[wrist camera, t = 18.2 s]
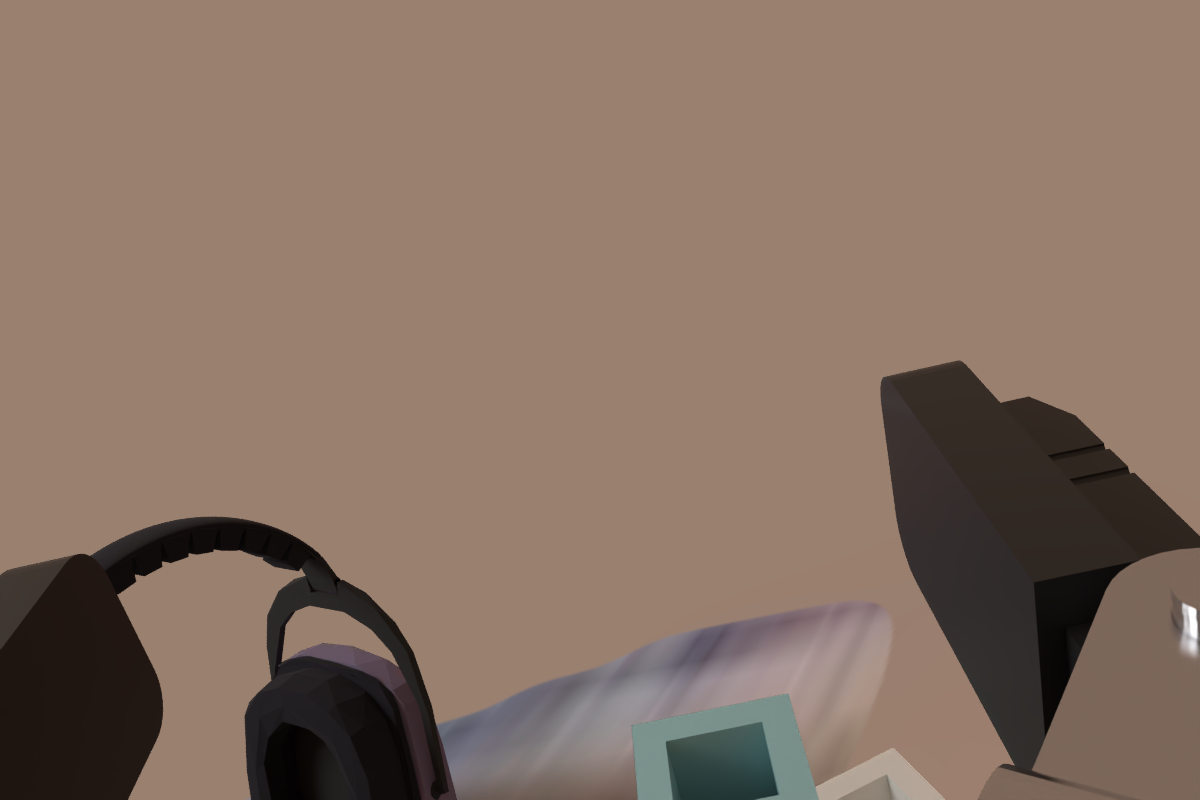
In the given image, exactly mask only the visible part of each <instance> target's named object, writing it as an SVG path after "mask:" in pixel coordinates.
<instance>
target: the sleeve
mask: <svg viewBox="0 0 1200 800" xmlns="http://www.w3.org/2000/svg"><path fill="white" fill-rule="evenodd" d="M632 735H633V747H634V759H635V771H636V782H637V794H638V800H819V798H818V795H817V791H816V788H815V785H814V781H813V778H812V774H811V771H810V767H809V764H808V760H807V757H806V753H805V750H804V747H803V743H802V740H801V736H800V733H799V729H798V726H797V722H796V719H795V715H794V712H793V709H792V705H791V702H790V698H789V695H788V694H783V695H778V696H774V697H769V698H764V699H759V700H754V701H749V702H744V703H740V704H735V705H730V706H725V707H720V708H715V709H710V710H705V711H701V712H696V713H691V714H686V715H681V716H676V717H671V718H667V719H662V720H657V721H652V722H647V723H642V724H637V725H633V726H632Z"/></svg>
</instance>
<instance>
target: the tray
mask: <svg viewBox="0 0 1200 800" xmlns="http://www.w3.org/2000/svg"><path fill="white" fill-rule="evenodd" d="M815 788H816V791H817V795H818V798H819V800H946V799H945V798H943V797H942V796H941V795H940V794H939V793H938V792H937V791H936V790H935V789H934V788H933V787H932V786H931V785H930V784H929V783H928V782H927V781H926V780H925V779H924V778H923V777H922V776H921V775H920V774H919V773H918V772H917V771H916V770H915V769H914V768H913V767H912V766H911V765H910V764H909V763H908V762H907V761H906V760H905V759H904V758H903V757H902V756H901V755H900V754H899V753H898V752H897V751H896V750H895V749H894V748H892V749H889V750H887V751H885V752H883V753H882V754H879V755H877V756H875V757H874V758H872V759H870V760H868V761H866V762H864V763H862V764H860V765H858V766H856V767H854V768H852V769H850V770H848V771H846V772H844V773H842V774H840V775H838V776H836V777H834V778H832V779H830V780H828V781H826V782H824V783H822V784H820V785H818V786H816V787H815Z"/></svg>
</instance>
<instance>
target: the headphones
mask: <svg viewBox="0 0 1200 800" xmlns="http://www.w3.org/2000/svg"><path fill="white" fill-rule="evenodd" d="M214 549H215V550H221V551H237V550H241V551H243V552H246V553H248V554H251V555H255V556H258V557H263V560H264V561H265V562H267V563H269V564H271V565H272V566H274V567H278V568H283V569H289V570H295V571H299V570H300V569H301V568H302V570H303V572H304V573H305V575H306V576H304V577H300V578H297V579H294V580H293V581H291V582H290V583H289V584H287V585H286V586H285V587H283V588H282V589H281V590H280V591H279V592H278V594H277V596H276V598H275V600H274V602H273V604H272V607H271V609H270V611H269V613H268V616H267V651H268V658H269V665H270V673H271V680H272V681H271V682H269V683H268V684H267V685H266V686H265V687H264V688H263V689H262V690H261V691H260V692H258V693H257V695H256V696H255V697H254V698H253V699H252V700H251V701H250V702H249V705H248V708H247V711H246V714H245V734H246V735H245V736H246V759H247V774H248V781H249V788H250V794H251V800H457V798H456V794H455V790H454V786H453V782H452V778H451V775H450V771H449V767H448V763H447V759H446V755H445V751H444V748H443V744H442V741H441V738H440V735H439V732H438V729H437V726H436V723H435V719H434V714H433V709H432V705H431V702H430V699H429V696H428V693H427V691H426V688H425V685H424V682H423V679H422V676H421V673H420V670H419V667H418V664H417V662H416V658H415V656H414V653H413V651H412V649H411V647H410V646H409V644H408V643H407V641H406V639H405V638H404V636H403V634H402V633H401V631H400V630H399V628H398V626H397V625H396V623H395V622H394V621H393V620H392V619H391V618H390V617H389V616H388V615H387V614H386V613H385V612H384V611H383V610H382V609H381V608H380V607H379V606H378V605H377V604H376V603H375V602H374V601H373V600H372V598H371V597H370V596H369V595H367V593H365V592H364V591H362V590H360V589H358V588H356V587H355V586H353V585H351V584H349V583H348V582H346V581H344V580H340V578H338V577H337V576H336V574H335V573H334V572H333V570H332V569H331V568H330V567H329V565H328V564H327V562H326V561H325V560H324V558H323V557H321V555H320V554H319V553H318V552H316V551H315V550H314V549H313V548H312V547H310V546H309V545H307V544H306V543H304V542H303V541H301V540H300V539H298V538H296V537H294V536H293V535H291V534H288V533H287V532H284V531H282V530H279V529H277V528H274V527H272V526H269V525H265V524H262V523H258V522H254V521H250V520H244V519H238V518H229V517H195V518H186V519H180V520H174V521H170V522H165V523H161V524H158V525H154V526H151V527H148V528H145V529H142V530H140V531H137V532H134V533H132V534H130V535H127V536H125V537H123V538H121V539H119V540H117V541H115V542H113V543H111V544H109V545H107V546H106V547H104V548H102V549H101V550H99V551H97V552H96V553H94V554H93V555H91V557H92V558H94V559H95V560H96V561H97V562H98V563H99V564H100V565H101V566H102V568H103V569H104V570H105V572H106V574H107V576H108V578H109V580H110V582H111V584H112V586H113V588H114V590H115V592H116V594H119V593H121V592H122V591H124V590H125V589H127V588H128V587H129V586H131V585H132V584H134V583H135V582H136V579H135V574H136V575H141V576H146V575H148V574H150V573H152V572H153V571H155V570H157V569H159V568H161V567H162V561H163V562H169V563H172V562H175V561H178V560H181V559H184V558H186V557H188V554H189V553H191V554H203V553H209V552H213V550H214ZM307 606H315V607H320V608H325V609H331V610H336V611H342V612H345V613H346V614H348V615H350V616H351V617H353V618H354V619H356V620H357V621H359V622H360V623H362V624H364V625H365V626H367V627H368V628H370V629H371V630H372V631H373V632H374V633H375V634H376V635H377V636H378V638H379V639H380V640H381V641H382V642H383V643H384V644H385V646H386V647H387V648H388V649H389V650H390V651H391V652H392V654H393V656H394V658H395V660H396V662H397V664H398V666H399V667H397V666H396V665H394V664H393V663H392V662H390V661H388V660H387V659H384V658H382V657H379V656H377V655H374V654H371V653H369V652H366V651H364V650H361V649H359V648H356V647H353V646H345V645H335V644H327V643H322V644H319V645H316V646H313V647H310V648H307V649H305V650H302V651H300V652H298V653H297V654H295V655H294V656H292V657H291V658H289V659H288V660H286V661H284V662H281V661H282V653H283V644H284V635H285V626H286V624H287V622H288V621H289V620H290V618H291V617H292V615H293V614H294V612H295V611H296V610H299V609H302V608H304V607H307Z"/></svg>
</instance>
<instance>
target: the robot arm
mask: <svg viewBox="0 0 1200 800" xmlns="http://www.w3.org/2000/svg"><path fill="white" fill-rule="evenodd" d="M881 405H882V412H883V420H884V428H885V435H886V443H887V450H888V458H889V465H890V473H891V481H892V488H893V495H894V503H895V511H896V518H897V523H898V528H899V533H900V537H901V541H902V545H903V549H904V552H905V555H906V558H907V561H908V564H909V567H910V569H911V572H912V574H913V576H914V578H915V580H916V582H917V584H918V586H919V588H920V590H921V592H922V594H923V595H924V597H925V599H926V601H927V603H928V604H929V607H930V608H931V610H932V612H933V614H934V616H935V618H936V620H937V621H938V623H939V625H940V627H941V629H942V631H943V633H944V634H945V636H946V638H947V640H948V642H949V644H950V645H951V647H952V649H953V651H954V653H955V655H956V657H957V659H958V660H959V662H960V664H961V666H962V668H963V670H964V672H965V673H966V675H967V677H968V679H969V681H970V683H971V684H972V686H973V688H974V690H975V692H976V694H977V696H978V698H979V700H980V701H981V703H982V705H983V707H984V709H985V711H986V713H987V714H988V716H989V718H990V720H991V722H992V724H993V726H994V727H995V729H996V731H997V733H998V735H999V737H1000V739H1001V740H1002V742H1003V744H1004V746H1005V748H1006V750H1007V752H1008V753H1009V755H1010V757H1011V759H1012V761H1013V763H1014V764H1015V766H1014V765H1010V764H1002V765H1001V766H999V767H998V768H997V769H996V770H995V771H994V772H993V773H992V774H991V776H990V777H989V779H988V780H987V782H986V784H985V786H984V788H983V790H982V792H981V794H980V796H979V798H978V800H1200V536H1199V535H1198V534H1197V533H1196V532H1195V531H1194V530H1193V529H1192V528H1191V527H1190V526H1189V525H1188V524H1187V523H1186V522H1185V521H1184V520H1183V519H1181V518H1180V517H1179V516H1178V515H1177V514H1176V513H1175V512H1174V511H1173V510H1172V509H1171V508H1170V507H1169V506H1168V505H1167V504H1166V503H1165V502H1164V501H1163V500H1162V499H1161V498H1160V497H1159V496H1158V495H1157V494H1156V493H1155V492H1154V491H1153V490H1151V489H1150V487H1148V485H1146V484H1145V483H1144V482H1143V481H1142V480H1141V479H1140V478H1139V477H1138V476H1137V475H1136V474H1135V473H1131V474H1130V472H1129V470H1128V466H1127V465H1126V464H1125V463H1124V462H1123V461H1122V460H1121V459H1120V458H1119V457H1118V456H1116V455H1115V453H1113V452H1112V451H1111V450H1110V449H1107V450H1106V449H1105V447H1104V443H1103V442H1102V441H1101V440H1100V439H1099V438H1098V437H1097V436H1096V435H1095V434H1094V433H1093V432H1092V431H1091V430H1090V429H1089V428H1088V427H1087V426H1086V425H1084V423H1083V422H1081V420H1079V419H1078V418H1077V417H1076V416H1075V415H1073V414H1071V413H1068V412H1066V411H1063V410H1060V409H1058V408H1055V407H1053V406H1051V405H1048V404H1046V403H1043V402H1041V401H1038V400H1036V399H1033V398H1031V397H1025V398H1021V399H1016V400H1011V401H1007V402H1003V403H1000V402H999V401H998V400H997V399H996V398H995V397H994V395H993V394H992V393H991V392H990V391H989V390H988V389H987V388H986V387H985V385H984V384H983V383H982V382H981V381H980V380H979V379H978V378H977V377H976V375H975V374H974V373H973V372H972V371H971V370H970V369H969V368H968V367H967V365H966V364H964V363H963V362H962V361H954V362H950V363H945V364H941V365H936V366H932V367H928V368H923V369H918V370H914V371H909V372H905V373H900V374H896V375H891V376H887V377H883V379H882V381H881ZM162 718H163V700H162V692H161V687H160V683H159V680H158V677H157V674H156V673H155V670H154V668H153V666H152V664H151V662H150V660H149V658H148V656H147V654H146V652H145V650H144V648H143V646H142V644H141V642H140V640H139V638H138V636H137V634H136V632H135V630H134V628H133V626H132V624H131V622H130V620H129V618H128V616H127V614H126V612H125V610H124V608H123V606H122V604H121V602H120V600H119V598H118V596H117V594H116V592H115V590H114V588H113V586H112V584H111V582H110V580H109V578H108V576H107V574H106V572H105V570H104V569H103V568H102V566H101V565H100V564H99V563H98V562H97V561H96V560H95V559H94V558H92V557H91V556H88V555H86V554H77V555H73V556H68V557H64V558H59V559H54V560H50V561H46V562H41V563H36V564H33V565H27V566H23V567H18V568H14V569H10V570H7V571H5V572H4V573H2V574H1V575H0V800H128V798H129V796H130V794H131V792H132V790H133V788H134V786H135V784H136V781H137V780H138V777H139V775H140V773H141V771H142V769H143V767H144V765H145V763H146V761H147V759H148V757H149V754H150V753H151V750H152V748H153V746H154V744H155V742H156V740H157V738H158V735H159V733H160V729H161V725H162Z"/></svg>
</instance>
